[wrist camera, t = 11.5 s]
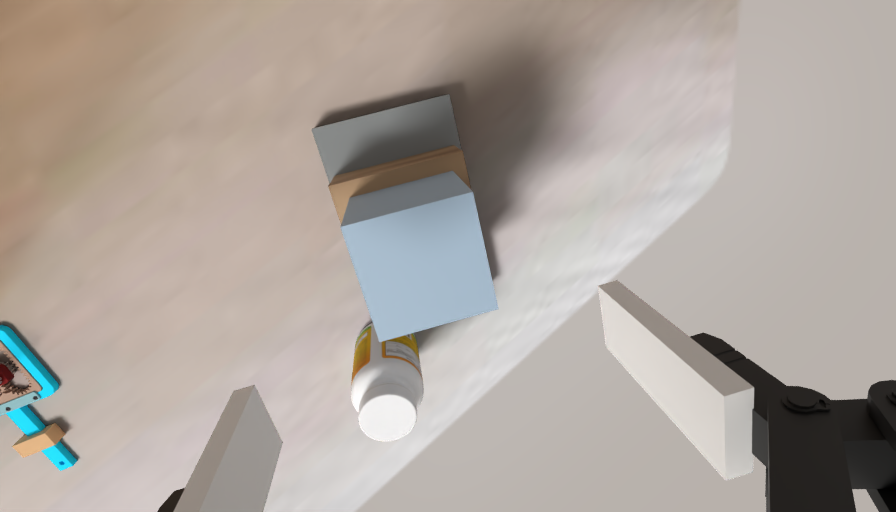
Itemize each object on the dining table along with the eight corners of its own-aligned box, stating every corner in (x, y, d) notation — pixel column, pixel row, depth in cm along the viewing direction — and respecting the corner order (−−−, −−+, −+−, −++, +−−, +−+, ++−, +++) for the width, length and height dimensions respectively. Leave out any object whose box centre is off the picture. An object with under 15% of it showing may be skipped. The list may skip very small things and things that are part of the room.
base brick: (334, 175, 33) (328, 186, 29) (453, 144, 33) (462, 151, 29) (370, 285, 36) (369, 307, 32) (478, 255, 36) (489, 274, 32)
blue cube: (349, 197, 29) (340, 227, 23) (452, 170, 30) (472, 191, 23) (379, 291, 32) (379, 342, 25) (474, 265, 32) (498, 308, 26)
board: (314, 127, 33) (311, 129, 31) (446, 94, 33) (449, 94, 32) (376, 315, 38) (376, 324, 37) (488, 284, 39) (492, 291, 38)
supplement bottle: (367, 378, 40) (362, 460, 31) (346, 328, 38) (335, 400, 29) (424, 360, 41) (436, 436, 32) (406, 309, 39) (414, 375, 30)
